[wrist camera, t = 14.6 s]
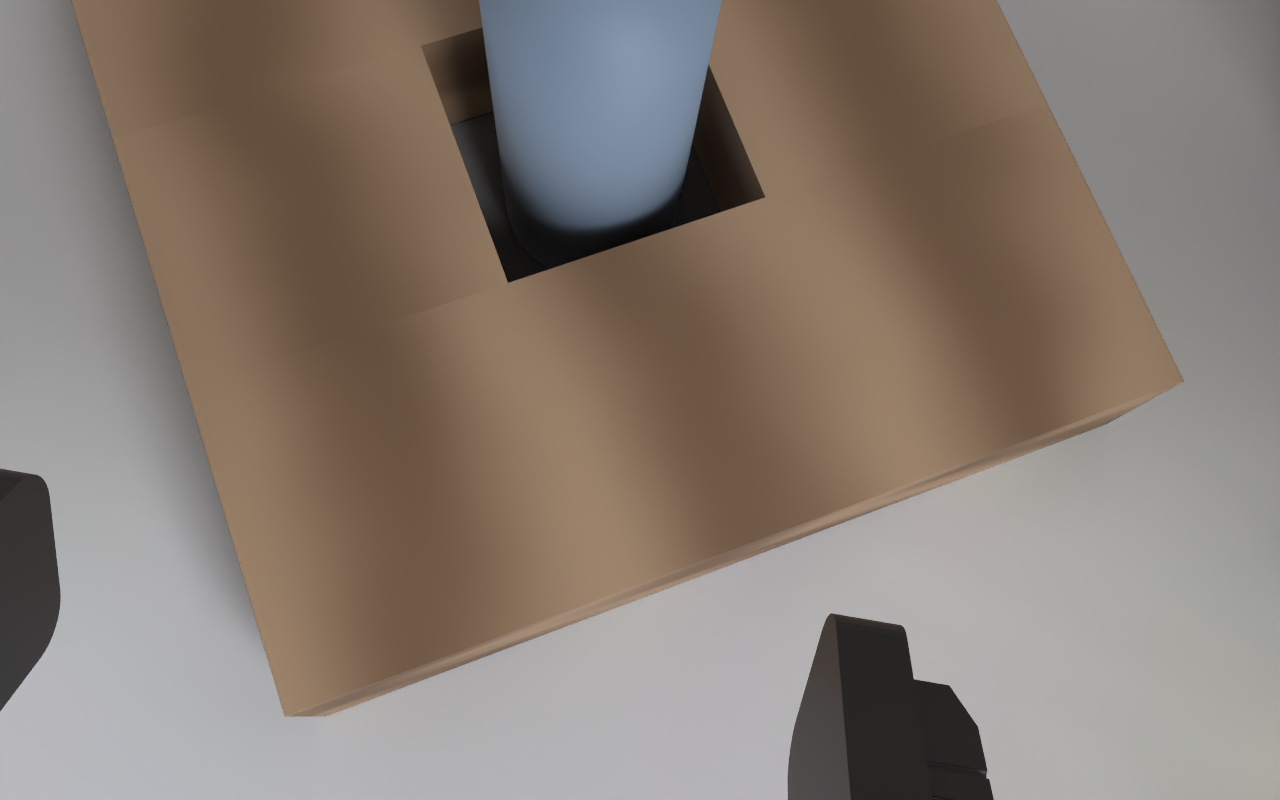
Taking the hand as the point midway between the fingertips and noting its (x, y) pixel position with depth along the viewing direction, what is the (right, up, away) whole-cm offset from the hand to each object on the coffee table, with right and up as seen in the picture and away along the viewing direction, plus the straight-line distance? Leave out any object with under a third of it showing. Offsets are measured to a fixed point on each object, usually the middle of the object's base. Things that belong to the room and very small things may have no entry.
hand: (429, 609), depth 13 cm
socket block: (+1, +7, +19) cm, 20 cm away
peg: (+1, +7, +19) cm, 20 cm away
